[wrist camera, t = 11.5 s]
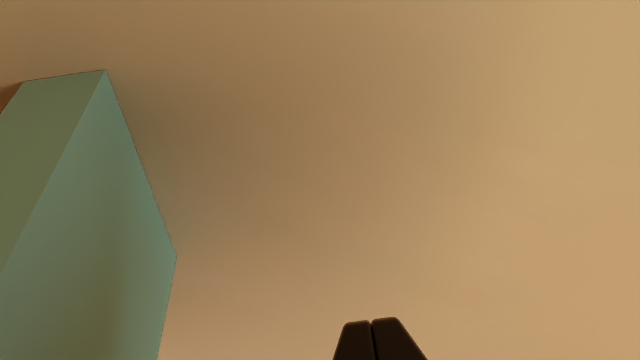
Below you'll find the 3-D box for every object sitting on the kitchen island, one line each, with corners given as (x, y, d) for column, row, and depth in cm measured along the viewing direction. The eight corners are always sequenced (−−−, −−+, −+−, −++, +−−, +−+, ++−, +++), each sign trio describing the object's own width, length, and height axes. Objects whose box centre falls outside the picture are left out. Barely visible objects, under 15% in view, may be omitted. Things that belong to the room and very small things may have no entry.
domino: (176, 256, 14) (90, 702, 8) (111, 265, 15) (-29, 714, 8) (105, 69, 11) (-132, 531, 5) (23, 80, 12) (-323, 555, 5)
